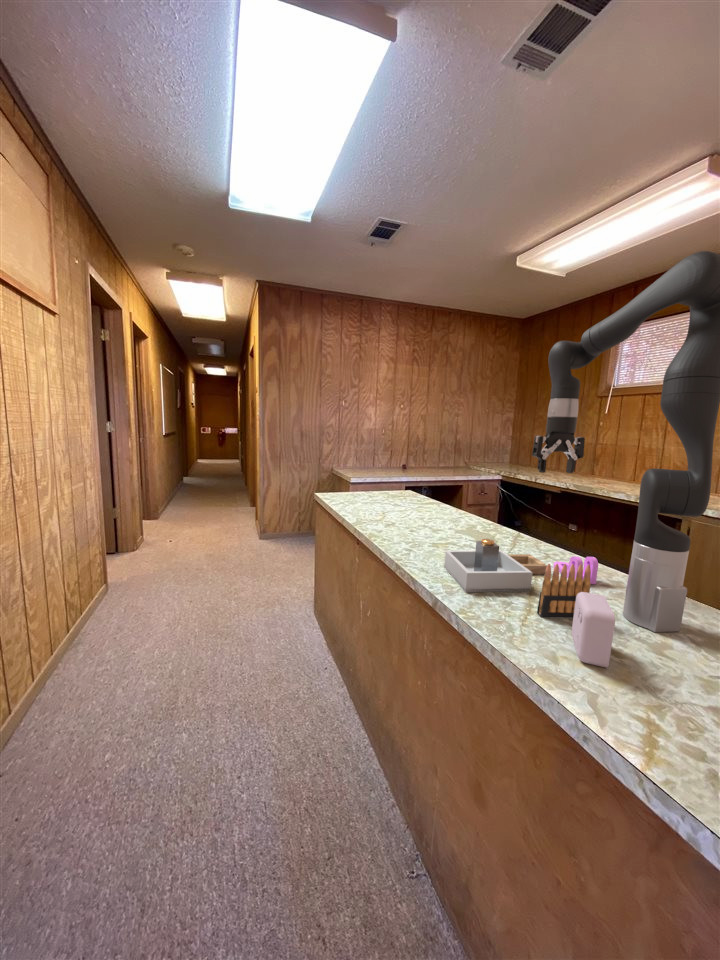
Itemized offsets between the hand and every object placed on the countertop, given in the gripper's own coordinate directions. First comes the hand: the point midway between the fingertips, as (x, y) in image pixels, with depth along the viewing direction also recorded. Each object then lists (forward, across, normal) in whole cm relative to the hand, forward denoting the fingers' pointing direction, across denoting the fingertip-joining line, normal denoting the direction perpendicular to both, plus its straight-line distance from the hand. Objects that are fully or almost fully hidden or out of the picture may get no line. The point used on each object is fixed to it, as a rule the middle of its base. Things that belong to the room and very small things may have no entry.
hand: (555, 472), depth 109 cm
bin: (+28, +23, +9) cm, 37 cm away
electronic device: (+28, +18, +42) cm, 54 cm away
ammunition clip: (+28, +14, +29) cm, 43 cm away
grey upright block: (+27, +23, +9) cm, 37 cm away
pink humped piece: (+28, -4, +7) cm, 30 cm away
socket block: (+28, +8, +2) cm, 29 cm away
